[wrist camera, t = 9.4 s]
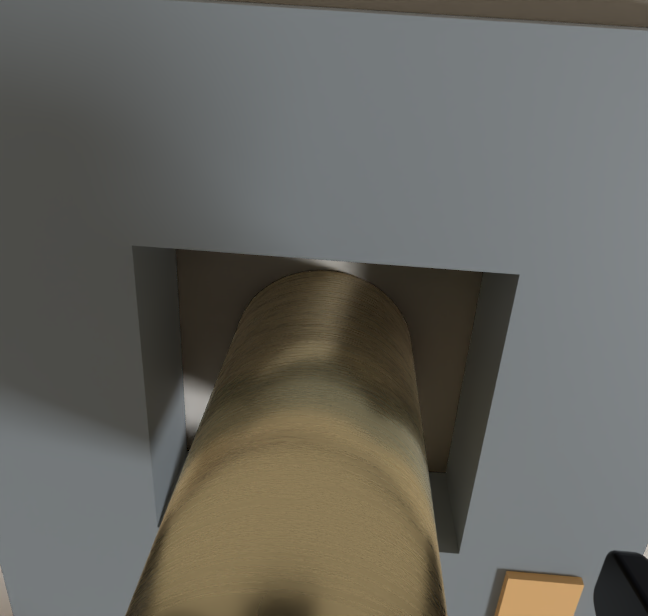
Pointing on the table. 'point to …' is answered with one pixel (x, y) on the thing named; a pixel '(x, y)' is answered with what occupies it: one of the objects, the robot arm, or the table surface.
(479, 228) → the hole plate
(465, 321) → the table surface
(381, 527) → the brass peg
